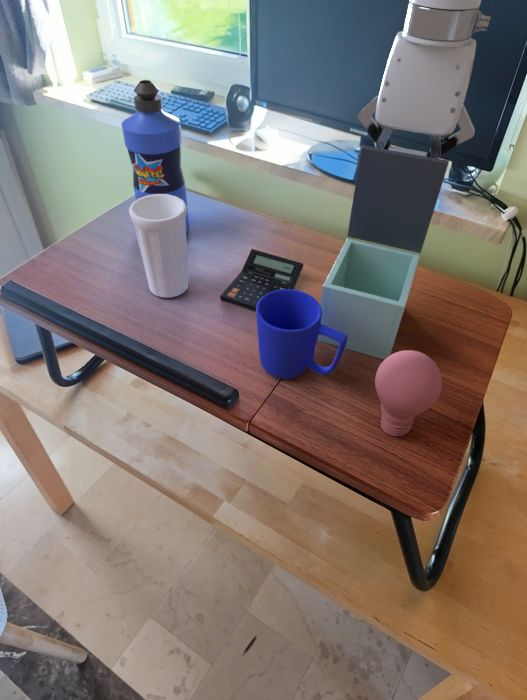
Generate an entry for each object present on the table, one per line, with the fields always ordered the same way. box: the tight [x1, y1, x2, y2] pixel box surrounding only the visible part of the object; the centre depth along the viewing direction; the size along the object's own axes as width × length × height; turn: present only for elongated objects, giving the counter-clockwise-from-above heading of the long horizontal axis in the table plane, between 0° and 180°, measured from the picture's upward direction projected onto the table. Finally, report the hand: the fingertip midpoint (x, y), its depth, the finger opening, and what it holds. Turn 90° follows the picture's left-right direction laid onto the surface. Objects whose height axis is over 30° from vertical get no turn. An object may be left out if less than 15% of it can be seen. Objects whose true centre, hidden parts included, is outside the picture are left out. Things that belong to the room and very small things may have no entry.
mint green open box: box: [317, 237, 421, 361], centre depth 69 cm, size 13×11×10 cm
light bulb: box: [374, 349, 443, 437], centre depth 55 cm, size 7×7×12 cm
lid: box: [346, 144, 450, 254], centre depth 65 cm, size 14×11×5 cm
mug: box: [255, 289, 348, 380], centre depth 62 cm, size 8×12×10 cm
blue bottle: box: [121, 79, 190, 233], centre depth 81 cm, size 9×9×25 cm
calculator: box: [219, 248, 304, 312], centre depth 77 cm, size 9×12×3 cm
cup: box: [128, 194, 189, 299], centre depth 72 cm, size 8×8×14 cm
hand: (401, 178), depth 66 cm, fingers closed on lid, 5 cm apart
